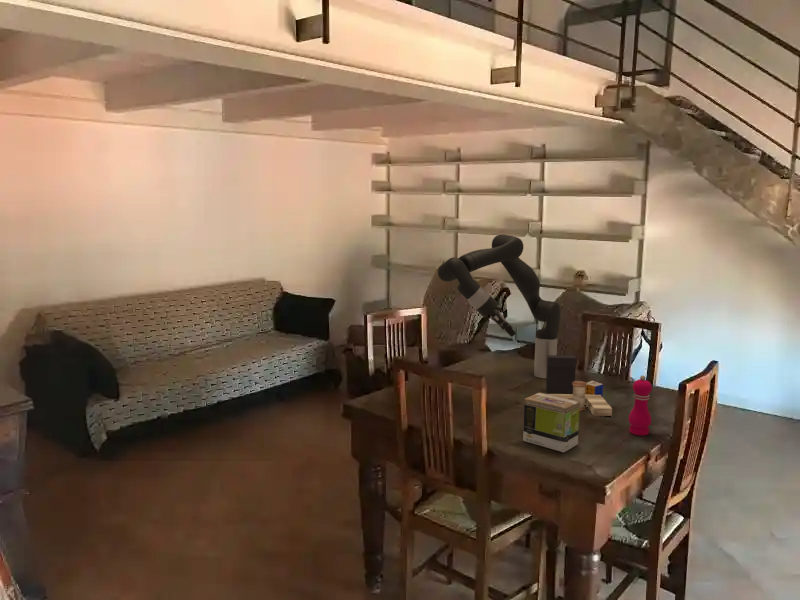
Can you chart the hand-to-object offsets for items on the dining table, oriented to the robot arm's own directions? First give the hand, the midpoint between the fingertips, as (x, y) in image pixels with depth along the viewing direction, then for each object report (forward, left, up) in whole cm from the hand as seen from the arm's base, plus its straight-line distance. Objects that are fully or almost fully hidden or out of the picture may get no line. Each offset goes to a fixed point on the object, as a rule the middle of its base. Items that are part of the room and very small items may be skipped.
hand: (512, 332), depth 244 cm
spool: (+1, +25, -29) cm, 38 cm away
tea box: (+35, +9, -29) cm, 46 cm away
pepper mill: (+24, +41, -29) cm, 55 cm away
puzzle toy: (-14, +35, -29) cm, 47 cm away
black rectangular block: (-19, +23, -29) cm, 41 cm away
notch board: (+1, +26, -29) cm, 38 cm away
